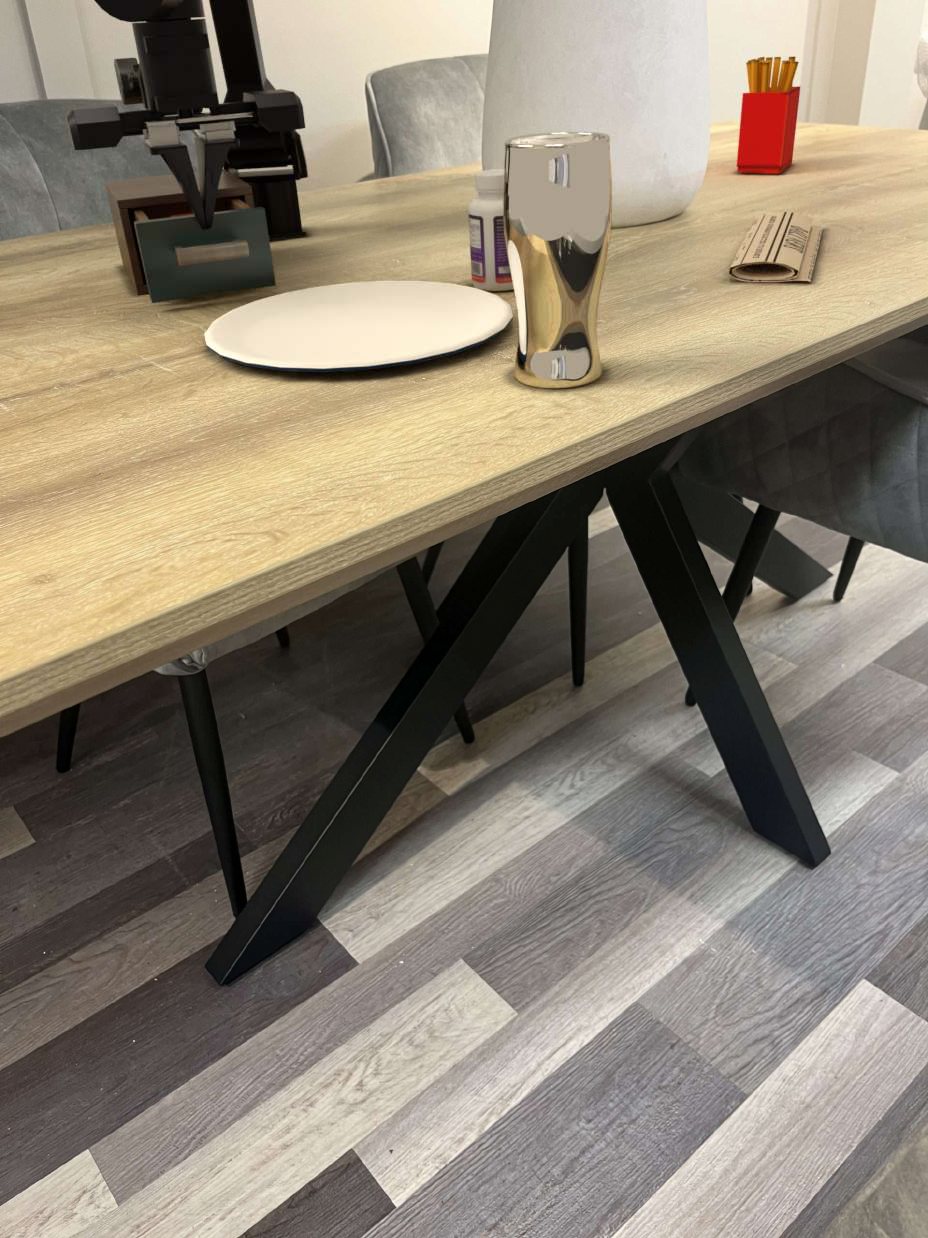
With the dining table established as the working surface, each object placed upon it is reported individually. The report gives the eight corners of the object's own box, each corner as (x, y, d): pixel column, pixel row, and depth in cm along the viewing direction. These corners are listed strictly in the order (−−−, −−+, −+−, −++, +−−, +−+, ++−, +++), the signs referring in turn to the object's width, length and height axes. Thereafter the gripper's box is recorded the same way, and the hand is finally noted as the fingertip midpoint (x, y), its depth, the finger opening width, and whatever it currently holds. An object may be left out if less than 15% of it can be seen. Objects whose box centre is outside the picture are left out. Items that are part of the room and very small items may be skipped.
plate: (181, 320, 87) (178, 306, 86) (444, 279, 95) (443, 266, 94) (243, 405, 67) (240, 387, 67) (568, 344, 75) (568, 328, 74)
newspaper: (754, 228, 108) (755, 210, 107) (822, 229, 105) (825, 211, 104) (727, 280, 89) (729, 260, 88) (810, 283, 87) (813, 262, 86)
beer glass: (502, 363, 72) (495, 135, 64) (597, 355, 72) (601, 128, 65) (514, 394, 66) (508, 148, 58) (617, 386, 66) (624, 140, 59)
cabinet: (265, 276, 100) (251, 185, 96) (137, 294, 96) (116, 200, 92) (238, 251, 112) (224, 168, 107) (123, 266, 108) (104, 181, 104)
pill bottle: (536, 278, 93) (535, 166, 88) (520, 293, 89) (518, 175, 84) (482, 277, 95) (477, 166, 90) (463, 291, 91) (458, 176, 86)
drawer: (286, 295, 89) (274, 214, 86) (157, 313, 86) (140, 231, 82) (247, 259, 103) (236, 189, 100) (136, 274, 100) (120, 202, 97)
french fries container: (731, 174, 140) (741, 60, 132) (745, 164, 147) (754, 56, 139) (782, 174, 137) (795, 58, 130) (794, 164, 144) (806, 54, 137)
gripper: (263, 14, 87) (289, 203, 96) (41, 28, 82) (89, 227, 90) (293, 12, 79) (318, 221, 87) (46, 27, 73) (98, 248, 81)
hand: (206, 228), depth 87 cm, fingers closed
